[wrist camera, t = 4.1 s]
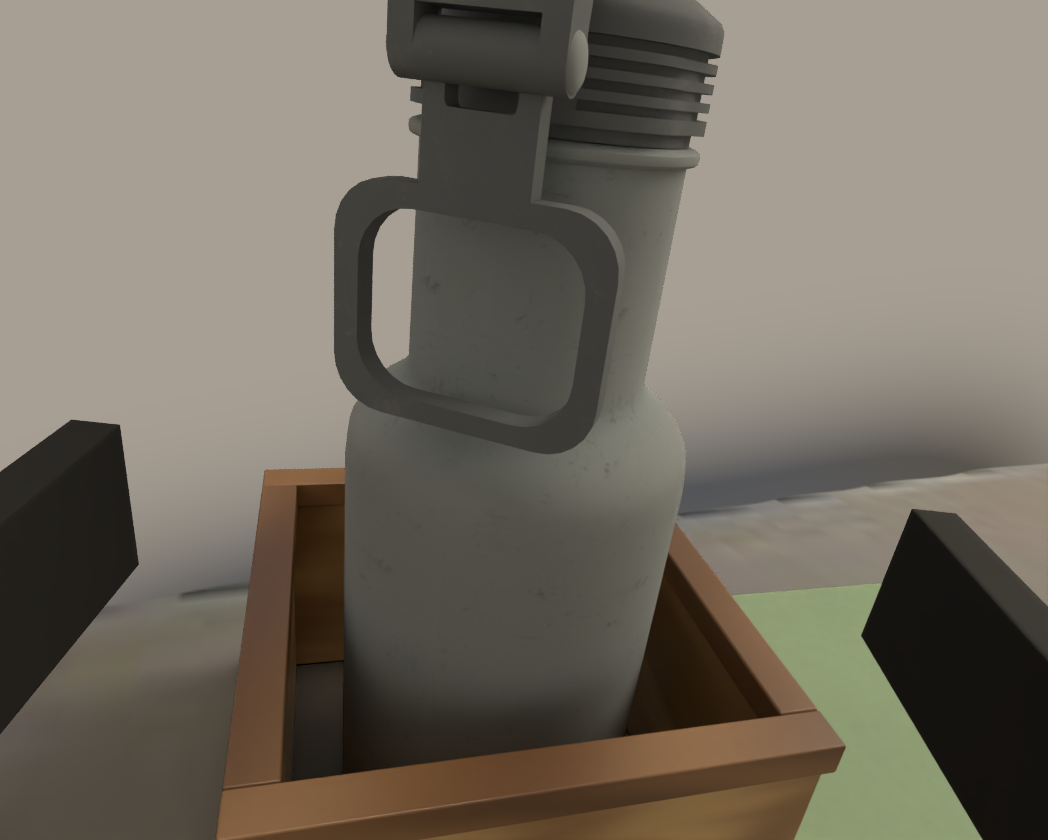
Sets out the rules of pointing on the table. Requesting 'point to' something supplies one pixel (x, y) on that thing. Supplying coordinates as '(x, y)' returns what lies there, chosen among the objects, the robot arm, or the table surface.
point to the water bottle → (515, 377)
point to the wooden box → (535, 774)
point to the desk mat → (857, 722)
